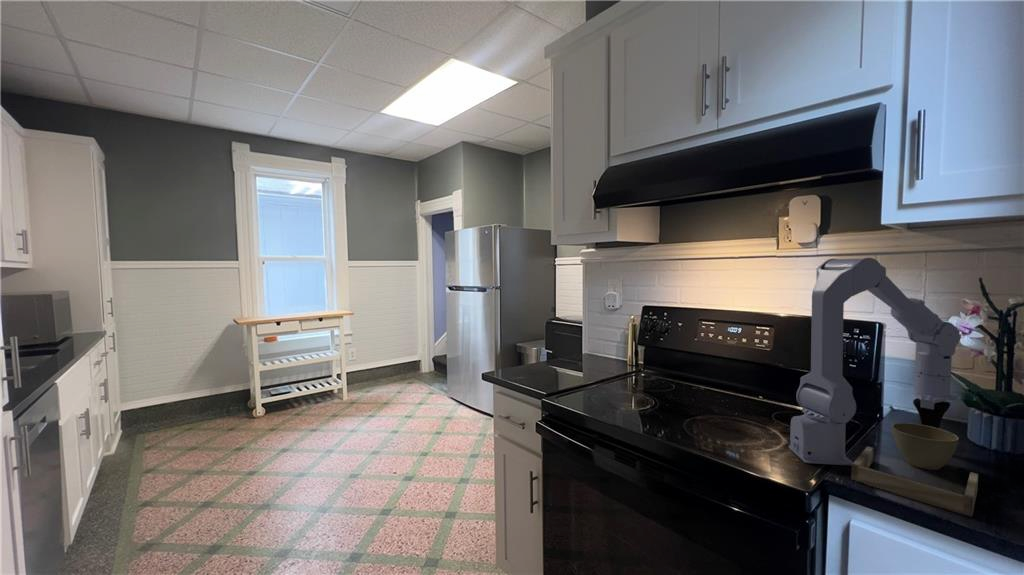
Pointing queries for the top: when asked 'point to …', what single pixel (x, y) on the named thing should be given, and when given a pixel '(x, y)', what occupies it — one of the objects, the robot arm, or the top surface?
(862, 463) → the frame
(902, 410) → the top surface
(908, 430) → the yellow bowl
